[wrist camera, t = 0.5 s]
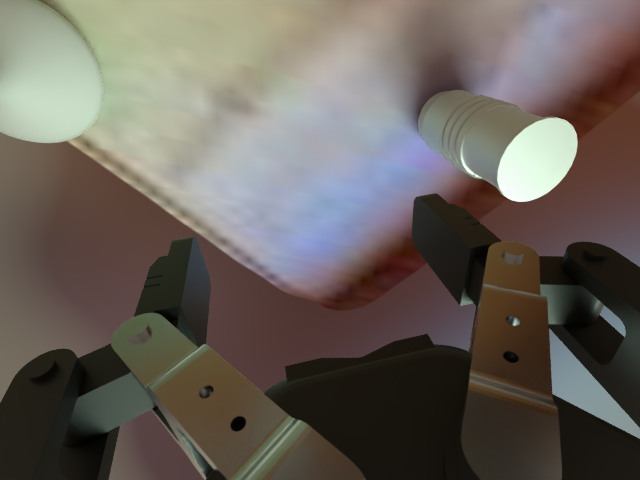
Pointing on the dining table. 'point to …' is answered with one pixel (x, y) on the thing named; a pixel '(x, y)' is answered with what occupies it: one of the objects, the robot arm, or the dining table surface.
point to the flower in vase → (45, 75)
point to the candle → (499, 142)
